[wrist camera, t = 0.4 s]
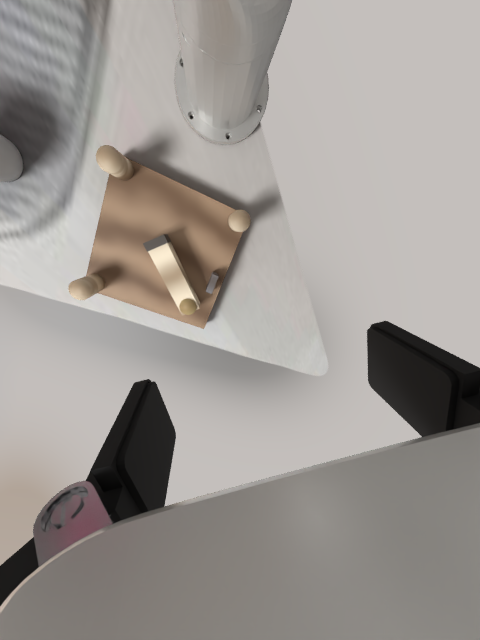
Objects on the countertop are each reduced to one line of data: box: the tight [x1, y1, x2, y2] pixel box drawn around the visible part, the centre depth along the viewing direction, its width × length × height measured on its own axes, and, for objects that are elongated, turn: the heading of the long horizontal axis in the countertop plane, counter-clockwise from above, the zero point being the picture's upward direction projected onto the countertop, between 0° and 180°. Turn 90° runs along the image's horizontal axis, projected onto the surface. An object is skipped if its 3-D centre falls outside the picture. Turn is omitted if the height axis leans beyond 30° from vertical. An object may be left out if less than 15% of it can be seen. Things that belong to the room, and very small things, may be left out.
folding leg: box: [143, 234, 200, 316], centre depth 37 cm, size 12×3×3 cm, turn 22°
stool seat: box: [69, 145, 251, 329], centre depth 36 cm, size 20×20×8 cm
